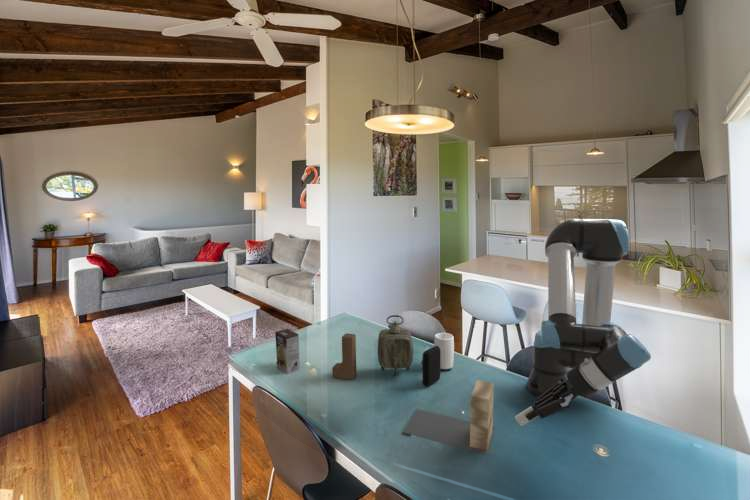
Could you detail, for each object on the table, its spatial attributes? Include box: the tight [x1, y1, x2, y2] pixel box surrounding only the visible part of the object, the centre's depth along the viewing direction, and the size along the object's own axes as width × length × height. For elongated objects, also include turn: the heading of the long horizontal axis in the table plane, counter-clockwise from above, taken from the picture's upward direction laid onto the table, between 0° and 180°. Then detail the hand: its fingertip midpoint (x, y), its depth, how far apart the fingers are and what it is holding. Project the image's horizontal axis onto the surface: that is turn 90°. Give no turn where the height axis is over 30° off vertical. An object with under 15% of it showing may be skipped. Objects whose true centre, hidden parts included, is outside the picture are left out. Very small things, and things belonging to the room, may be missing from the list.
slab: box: [469, 380, 495, 451], centre depth 115 cm, size 5×10×16 cm, turn 155°
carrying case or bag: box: [421, 345, 441, 388], centre depth 150 cm, size 11×3×15 cm, turn 134°
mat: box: [402, 408, 496, 456], centre depth 121 cm, size 26×14×1 cm, turn 65°
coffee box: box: [274, 328, 301, 375], centre depth 165 cm, size 9×6×16 cm
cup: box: [433, 332, 455, 370], centre depth 164 cm, size 8×8×14 cm
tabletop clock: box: [377, 314, 414, 377], centre depth 158 cm, size 14×9×25 cm, turn 88°
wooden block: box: [331, 332, 357, 381], centre depth 157 cm, size 9×4×18 cm, turn 72°
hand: (518, 421), depth 111 cm, fingers closed
